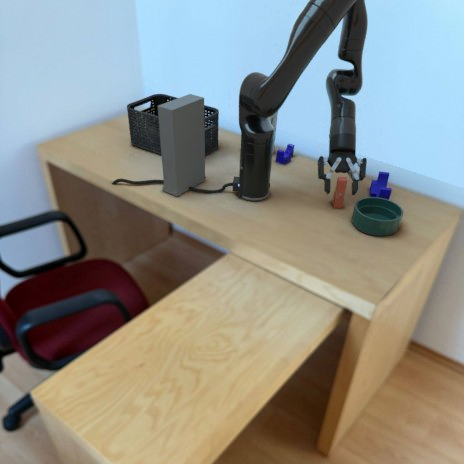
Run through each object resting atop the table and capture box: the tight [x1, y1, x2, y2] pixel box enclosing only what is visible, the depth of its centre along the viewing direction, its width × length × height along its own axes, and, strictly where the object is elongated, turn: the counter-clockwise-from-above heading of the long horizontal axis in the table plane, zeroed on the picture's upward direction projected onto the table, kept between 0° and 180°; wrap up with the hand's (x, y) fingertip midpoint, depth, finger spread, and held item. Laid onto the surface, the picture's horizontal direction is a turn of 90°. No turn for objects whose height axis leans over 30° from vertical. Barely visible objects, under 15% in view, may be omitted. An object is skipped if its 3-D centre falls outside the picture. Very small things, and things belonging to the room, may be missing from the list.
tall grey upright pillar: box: [158, 93, 207, 197], centre depth 129 cm, size 14×6×25 cm, turn 144°
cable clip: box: [369, 171, 393, 200], centre depth 133 cm, size 12×4×6 cm, turn 169°
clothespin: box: [332, 176, 349, 209], centre depth 128 cm, size 2×3×8 cm
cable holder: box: [275, 143, 295, 165], centre depth 152 cm, size 8×4×4 cm, turn 142°
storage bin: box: [126, 93, 220, 157], centre depth 155 cm, size 29×19×13 cm
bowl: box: [351, 196, 404, 237], centre depth 122 cm, size 13×13×5 cm
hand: (341, 193), depth 127 cm, fingers open, 7 cm apart
